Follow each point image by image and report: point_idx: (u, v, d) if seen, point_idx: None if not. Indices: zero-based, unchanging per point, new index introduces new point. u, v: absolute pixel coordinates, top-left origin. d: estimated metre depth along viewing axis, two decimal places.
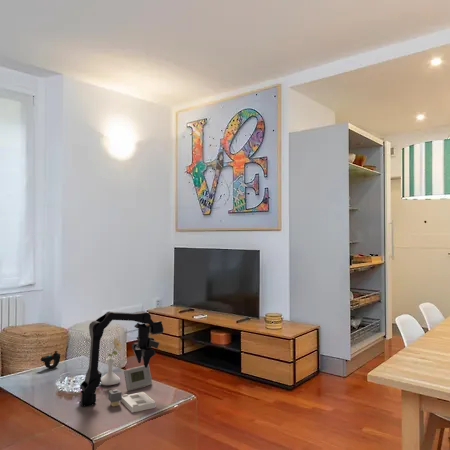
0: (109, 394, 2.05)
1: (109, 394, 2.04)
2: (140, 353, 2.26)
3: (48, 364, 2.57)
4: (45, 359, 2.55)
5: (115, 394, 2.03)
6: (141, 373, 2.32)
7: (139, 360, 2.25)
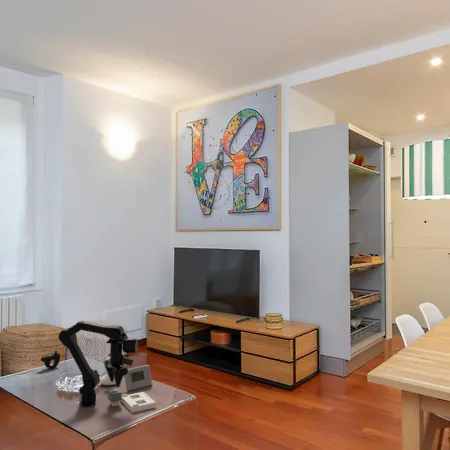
0: (109, 394, 2.05)
1: (109, 394, 2.04)
2: (113, 371, 2.10)
3: (48, 364, 2.57)
4: (45, 359, 2.55)
5: (115, 394, 2.03)
6: (141, 373, 2.32)
7: (112, 378, 2.09)
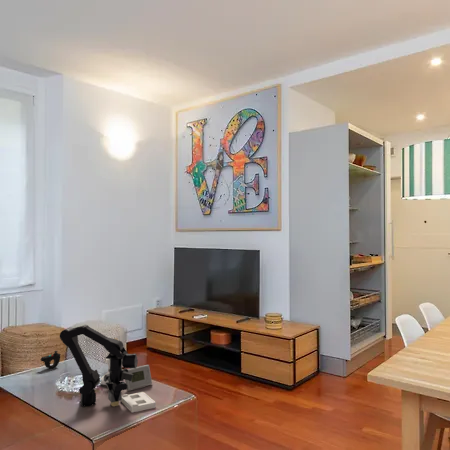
0: (109, 394, 2.05)
1: (109, 394, 2.04)
2: None
3: (48, 364, 2.57)
4: (45, 359, 2.55)
5: None
6: (141, 373, 2.31)
7: None
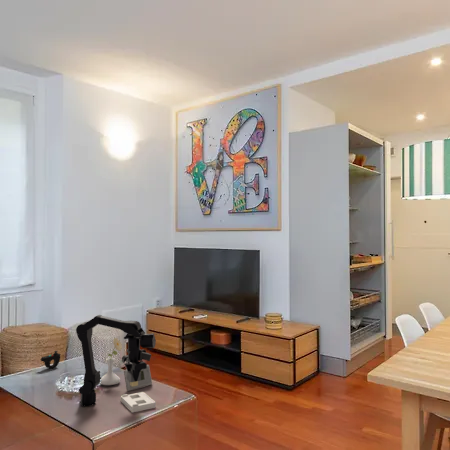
0: (128, 374, 2.04)
1: (128, 374, 2.03)
2: None
3: (48, 364, 2.57)
4: (45, 359, 2.55)
5: None
6: (141, 373, 2.31)
7: None
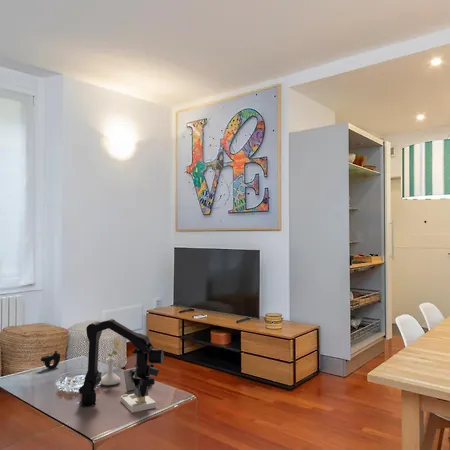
0: (135, 389, 2.03)
1: (136, 389, 2.02)
2: (140, 382, 2.06)
3: (48, 364, 2.57)
4: (45, 359, 2.55)
5: None
6: None
7: None
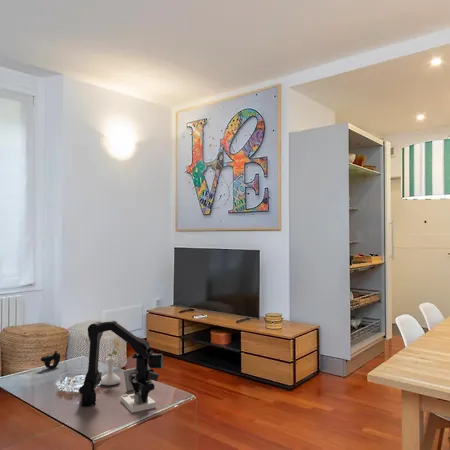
0: (135, 396, 2.02)
1: (136, 396, 2.02)
2: (138, 386, 2.07)
3: (48, 364, 2.57)
4: (45, 359, 2.55)
5: None
6: None
7: None
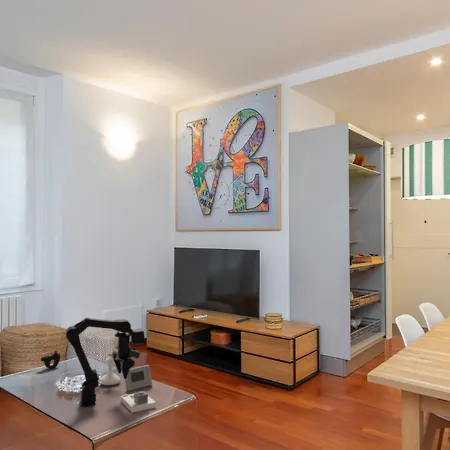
0: (135, 396, 2.02)
1: (136, 396, 2.02)
2: (121, 363, 2.17)
3: (48, 364, 2.57)
4: (45, 359, 2.55)
5: (141, 396, 2.01)
6: (141, 374, 2.31)
7: (119, 370, 2.16)
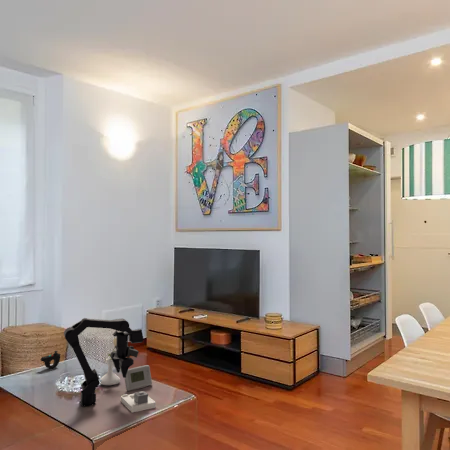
0: (135, 396, 2.02)
1: (136, 396, 2.02)
2: (119, 362, 2.18)
3: (48, 364, 2.57)
4: (45, 359, 2.55)
5: (141, 396, 2.01)
6: (141, 374, 2.31)
7: (118, 369, 2.17)
